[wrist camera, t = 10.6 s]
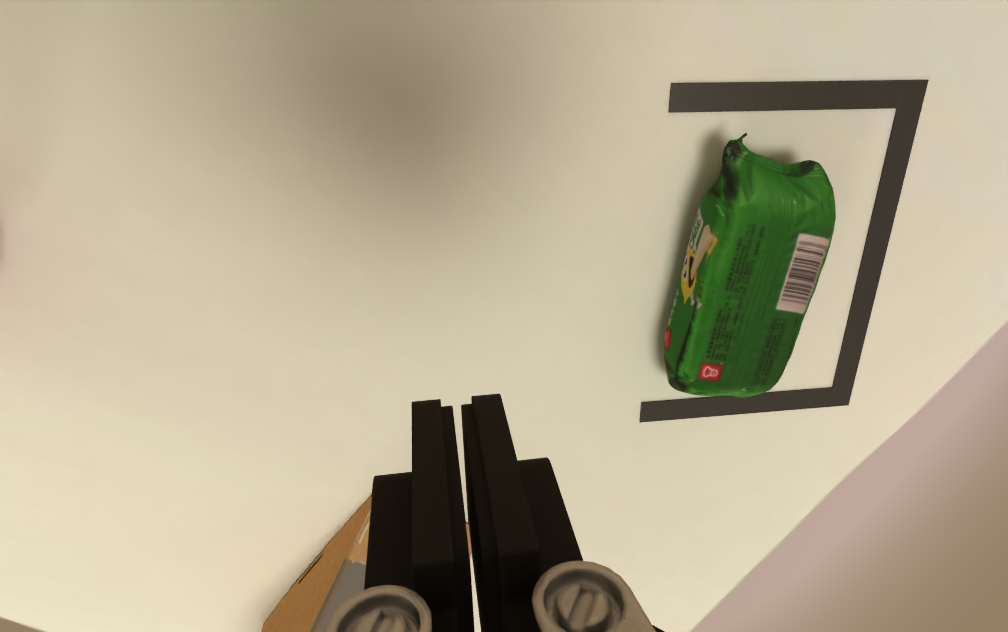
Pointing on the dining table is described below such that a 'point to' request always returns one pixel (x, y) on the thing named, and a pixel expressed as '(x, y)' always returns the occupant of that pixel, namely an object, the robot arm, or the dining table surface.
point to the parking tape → (908, 105)
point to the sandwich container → (328, 579)
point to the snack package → (748, 274)
